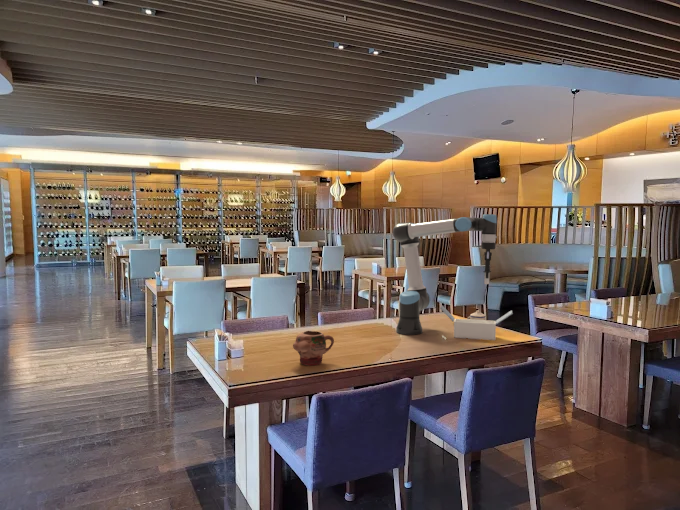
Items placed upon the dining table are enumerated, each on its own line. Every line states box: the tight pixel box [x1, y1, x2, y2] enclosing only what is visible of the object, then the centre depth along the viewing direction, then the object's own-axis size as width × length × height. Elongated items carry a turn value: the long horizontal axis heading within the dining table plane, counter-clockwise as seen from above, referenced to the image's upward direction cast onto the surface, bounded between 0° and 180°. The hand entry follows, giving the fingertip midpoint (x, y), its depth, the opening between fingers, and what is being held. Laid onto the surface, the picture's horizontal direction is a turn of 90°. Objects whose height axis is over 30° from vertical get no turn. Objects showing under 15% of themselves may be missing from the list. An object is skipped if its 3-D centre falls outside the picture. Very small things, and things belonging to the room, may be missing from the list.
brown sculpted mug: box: [292, 330, 335, 366], centre depth 220 cm, size 20×12×14 cm, turn 121°
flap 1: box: [439, 305, 456, 322], centre depth 271 cm, size 10×9×1 cm
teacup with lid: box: [466, 310, 487, 320], centre depth 287 cm, size 12×9×12 cm
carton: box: [453, 318, 497, 341], centre depth 267 cm, size 22×9×9 cm, turn 73°
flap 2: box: [495, 310, 514, 325], centre depth 262 cm, size 10×9×1 cm
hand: (486, 283), depth 269 cm, fingers closed
